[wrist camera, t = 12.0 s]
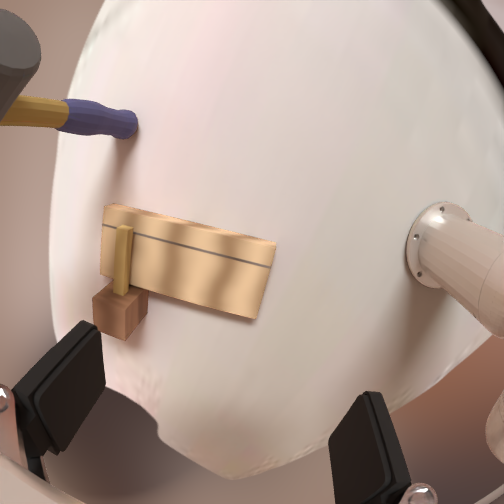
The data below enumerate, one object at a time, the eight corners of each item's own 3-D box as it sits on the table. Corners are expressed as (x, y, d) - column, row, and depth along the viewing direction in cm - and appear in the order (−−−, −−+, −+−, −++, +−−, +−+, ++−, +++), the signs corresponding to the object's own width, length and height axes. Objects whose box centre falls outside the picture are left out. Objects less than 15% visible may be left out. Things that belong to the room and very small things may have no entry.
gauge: (156, 224, 37) (129, 240, 29) (147, 312, 41) (125, 341, 34) (124, 216, 37) (93, 230, 29) (119, 303, 41) (94, 328, 34)
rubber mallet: (107, 172, 35) (-95, 221, 6) (87, 130, 33) (-103, 136, 5) (179, 122, 33) (-39, 66, 4) (156, 78, 31) (-31, -11, 2)
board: (275, 242, 36) (276, 248, 34) (257, 310, 39) (255, 319, 37) (113, 203, 36) (104, 206, 34) (108, 268, 39) (99, 274, 37)
